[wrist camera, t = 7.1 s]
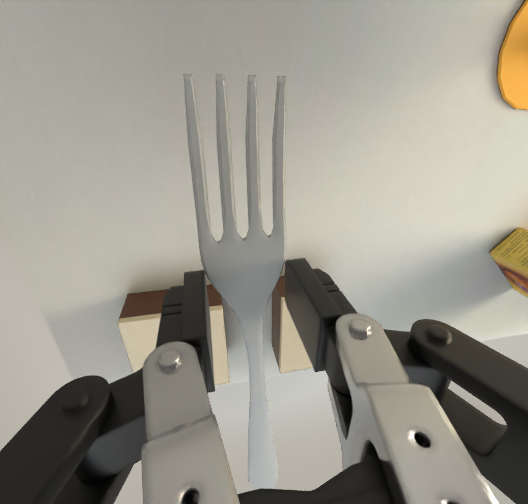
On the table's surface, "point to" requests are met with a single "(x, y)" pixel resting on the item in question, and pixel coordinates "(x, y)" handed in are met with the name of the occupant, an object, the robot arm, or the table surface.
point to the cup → (515, 61)
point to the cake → (147, 325)
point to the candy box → (514, 259)
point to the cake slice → (286, 335)
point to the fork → (244, 249)
